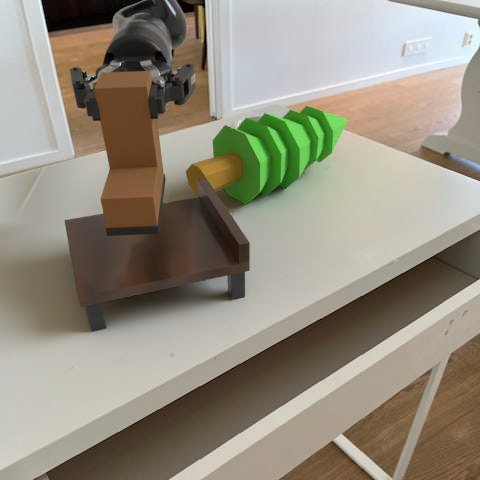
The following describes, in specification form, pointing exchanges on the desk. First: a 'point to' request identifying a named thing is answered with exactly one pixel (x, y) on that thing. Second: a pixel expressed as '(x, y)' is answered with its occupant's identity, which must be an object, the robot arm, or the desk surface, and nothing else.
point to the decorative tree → (267, 152)
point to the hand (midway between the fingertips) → (124, 109)
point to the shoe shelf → (158, 253)
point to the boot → (130, 154)
